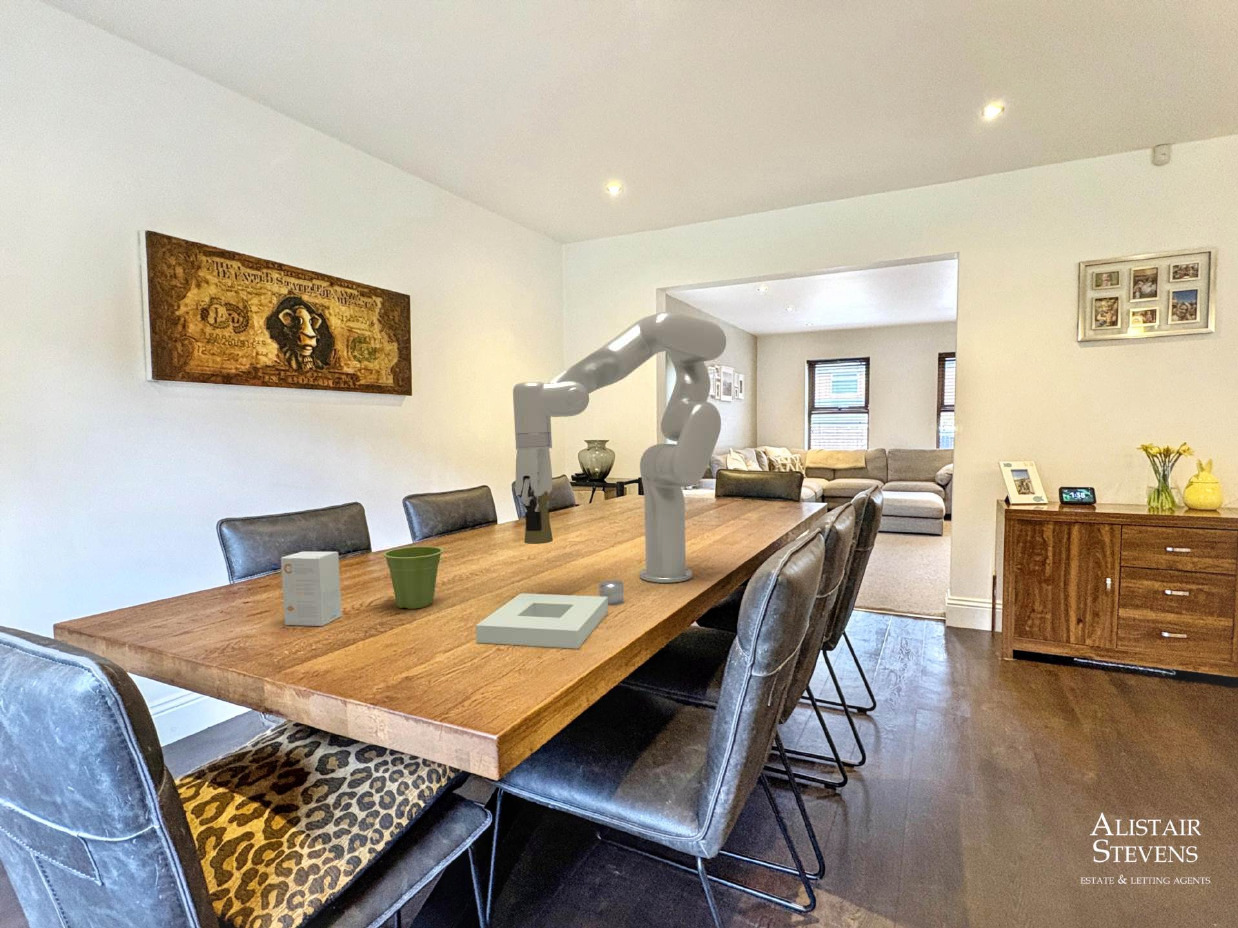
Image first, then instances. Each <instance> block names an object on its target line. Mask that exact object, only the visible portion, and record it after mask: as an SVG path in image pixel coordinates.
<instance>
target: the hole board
mask: <svg viewBox="0 0 1238 928" xmlns="http://www.w3.org/2000/svg"><path fill="white" fill-rule="evenodd" d="M608 606H609V605H608V597H599V595H598V596H595V595H594V596H593V595H592V596H591V595H589V596H588V595H572V594H571V595H568V594H546V593H523V592H522V593H519V594H518V595H517V596H515V597H514V598H512V599H511V600H509V601H508V602H506V603H505V604H504V605H503V606H501V607H499V608H498V609H496V610H495V611H493V612H492V613H491V614H489V615H488V616H486V617H485V618H484V619H482V620H481V621H480V622H478V623H477V624H475V636H476V643H479V644H496V645H509V646H511V645H512V646H529V647H539V648H540V647H544V648H557V649H558V648H559V649H563V648H564V649H574V650H576V649H577V650H579V648H580V647H581V646H582V645H583V643H584V642H585V641H586V640H587V639H588V637H589V636H590V635H591V634H592V632H594V630H595V629H596V627H597V626H598V625H599V624H600V622H602V620H603V618H605V617H606V615H607V614H608V613H609V607H608Z"/></svg>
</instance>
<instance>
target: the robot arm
mask: <svg viewBox="0 0 1238 928" xmlns="http://www.w3.org/2000/svg"><path fill="white" fill-rule="evenodd" d="M726 347H727V337H726V334H725V332H724V329H722V328H721V327H720V325H718V324H717V323H715V322H712V321H709V320H706V319H702V318H697V317H694V316H690V315H685V314H682V313H678V312H671V311H661V312H657V313H654V314H652V315H648V316H645V317H643V318H641V319H639V320H637V321H635V322H634V323H633V324H631V325H630V326H629V327H627V328H626V329H624V330H623V331H622V332H620V333H619V334H618V335H616V337H614V338H613V339H611V340H610V341H608V342H607V343H605V344H604V345H603V346H602V347H600V348H598V349H596V350H595V351H593V352H591V353H590V354H589V355H587V356H586V357H584V358H582V359H581V360H579V361H578V362H576V363H574V364H573V365H572V366H570V367H569V368H567V369H565V370H564V371H563V372H561V373H560V374H558V375H557V376H555V377H554V378H553V379H551V380H550V381H549V382H547V383H545V382H541V381H540V382H537V381H531V382H530V381H529V382H520V383H516V384H515V385H513V389H512V399H513V400H512V401H513V402H512V403H513V418H514V419H513V421H514V437H515V438H514V439H515V441H514V442H515V450H516V455H515V456H516V457H515V495H516V497H518V498H520V500H521V503H523V506H524V512H525V515H524V516H525V527H526V530H527V531H541V529H542V526H541V511H539V497H540V496H542V495H543V494H544V492H545V491H547V492H548V495H549V496H550V494H551V492H552V490H553V470H552V459H551V454H550V453H551V452H550V449H553V442H552V441H553V440H552V437H553V436H552V420H551V418H561V417H563V418H564V417H565V418H567V417H574V416H579V415H580V414H581V413H583V412H584V411H585V410H586V409H587V407H588V406H589V402H590V394H591V393H593V392H595V391H597V390H599V389H602V388H605V387H608V386H611V385H614V384H616V383H618V382H620V381H622V380H624V379H625V378H627V377H629V375H631V374H632V373H633V372H635V370H636V369H639V367H641V366H642V365H643V364H645V363H646V362H647V361H648V360H650V359H651V358H652V357H654V356H656V354H658V353H662V352H667V354H668V357H669V358H670V361H671V363H672V365H673V368H674V370H675V377H676V378H675V383H674V387H673V389H672V393H671V395H670V397H669V400H668V403H667V405H666V407H665V409H664V410H665V411H664V413H663V415H662V418H661V422H660V432H661V434H662V435H663V437H665V439H667V440H669V441H673V442H676V444H675V443H659V444H658V443H657V444H654V445H651V446H649V447H648V448H647V449H645V451H643V453H642V456H640V457H641V458H640V462H639V470H640V477H641V482H642V487H643V488H642V489H643V494H644V495H643V497H644V536H645V539H644V541H645V542H644V543H645V545H644V547H645V568H643V569H641V570H640V571H639V578H640V579H642V580H643V581H646V582H652V583H664V584H666V583H667V584H668V583H670V584H671V583H680V582H685V581H688V580H691V579H692V578H693V571H692V569H690V568H687V567H686V565H687V563H686V562H687V560H686V557H687V556H686V555H687V554H686V552H687V551H686V501H685V496H684V490H683V488H687V487H692V486H695V485H697V484H698V483H699V482H700V481H701V480H702V478H703V477H704V476H705V473H706V471H707V469H708V466H709V464H710V462H711V459H712V455H713V453H714V451H715V448H716V445H717V442H718V440H719V438H720V437H719V436H720V433H721V430H722V419H721V414H720V411H719V410H718V408H717V407H716V406H715V405H714V404H713V403H711V402H709V401H708V399H709V396H710V392H711V387H712V385H711V377H710V374H709V372H708V368H707V367H706V364H705V362H709V361H714V360H716V359H718V358H719V357H720V356H722V355H723V353H724V351H725V350H726ZM682 487H683V488H682ZM530 494H534V495H535V496H533V497H530ZM533 500H535V504H534V502H533ZM549 507H550V501H549V500H548V503H547V510H548V515H549V516H550V509H549Z"/></svg>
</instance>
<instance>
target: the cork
mask: <svg viewBox="0 0 1238 928" xmlns="http://www.w3.org/2000/svg"><path fill="white" fill-rule="evenodd" d="M533 496H535V495H534V494H530V497H533ZM549 500H550V494H549V495H548V492H547V491H545V492H544V494H543V495H542V496H540V497H539V511H541V526H542V529H541V531H527V530H526V526H525V529H524V539H523V540H524V541H523V542H524V543H525V544H527V545H542V544H548V543H552V542H553V540H554V538H553V532H552V528H551V522H550V514H549V515H548V510H547V503H548V501H549ZM533 502H534V504H535V500H533Z"/></svg>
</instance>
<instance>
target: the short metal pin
mask: <svg viewBox="0 0 1238 928" xmlns="http://www.w3.org/2000/svg"><path fill="white" fill-rule="evenodd" d="M598 597H608V606H619V605H622V604H624V602H625V601H624V600H625V598H624V582H623V581H622V580H619V579H606V580H601V581H599V583H598ZM621 603H622V604H621Z"/></svg>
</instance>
